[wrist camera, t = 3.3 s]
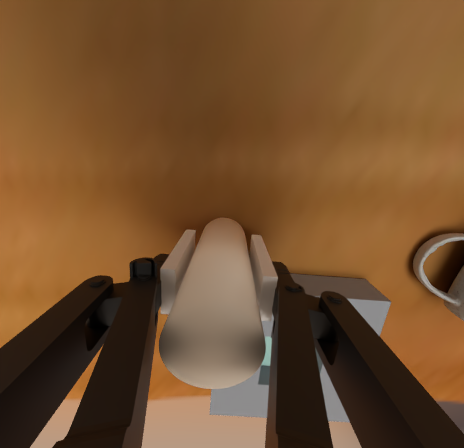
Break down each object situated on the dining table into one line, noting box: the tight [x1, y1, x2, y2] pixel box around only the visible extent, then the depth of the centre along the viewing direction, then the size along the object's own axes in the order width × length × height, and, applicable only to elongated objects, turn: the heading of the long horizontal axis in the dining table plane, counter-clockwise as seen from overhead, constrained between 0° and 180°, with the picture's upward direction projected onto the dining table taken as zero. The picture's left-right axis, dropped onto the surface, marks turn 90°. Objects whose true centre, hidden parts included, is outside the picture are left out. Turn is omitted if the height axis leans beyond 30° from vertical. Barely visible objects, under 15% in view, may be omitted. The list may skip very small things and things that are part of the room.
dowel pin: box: [159, 218, 266, 389], centre depth 14 cm, size 4×4×12 cm
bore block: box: [210, 274, 391, 422], centre depth 21 cm, size 14×14×4 cm
